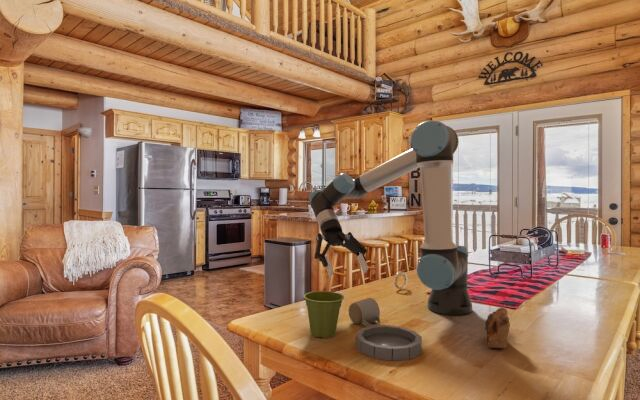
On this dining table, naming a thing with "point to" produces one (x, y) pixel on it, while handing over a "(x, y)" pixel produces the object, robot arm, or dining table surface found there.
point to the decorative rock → (497, 328)
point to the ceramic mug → (364, 312)
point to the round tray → (389, 342)
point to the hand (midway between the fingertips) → (349, 272)
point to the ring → (398, 278)
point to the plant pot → (323, 312)
